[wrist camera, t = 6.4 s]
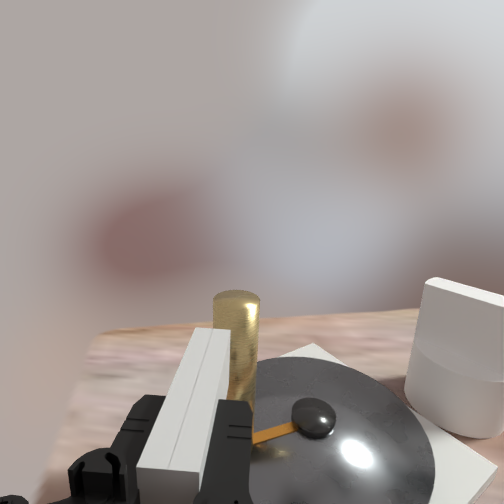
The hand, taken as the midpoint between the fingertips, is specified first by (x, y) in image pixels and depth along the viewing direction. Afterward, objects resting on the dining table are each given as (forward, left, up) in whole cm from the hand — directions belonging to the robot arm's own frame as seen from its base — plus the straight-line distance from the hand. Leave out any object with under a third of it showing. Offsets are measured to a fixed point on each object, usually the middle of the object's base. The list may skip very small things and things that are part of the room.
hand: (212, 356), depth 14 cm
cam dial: (-11, -4, -14) cm, 18 cm away
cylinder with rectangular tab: (-27, 0, -15) cm, 31 cm away
